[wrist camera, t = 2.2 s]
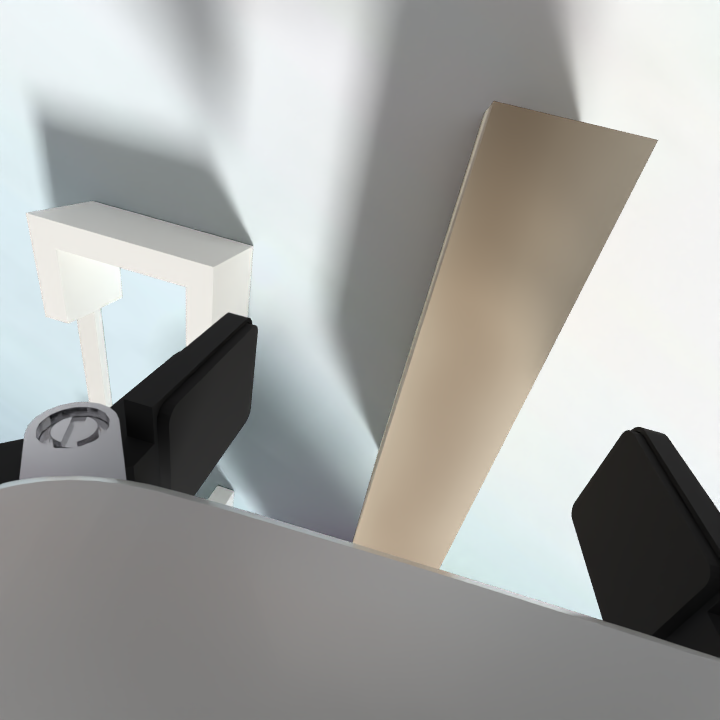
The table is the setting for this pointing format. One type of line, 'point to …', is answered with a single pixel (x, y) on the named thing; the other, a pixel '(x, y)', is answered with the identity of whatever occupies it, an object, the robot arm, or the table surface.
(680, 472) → the robot arm
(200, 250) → the endcaps
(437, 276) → the slat
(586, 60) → the table surface
